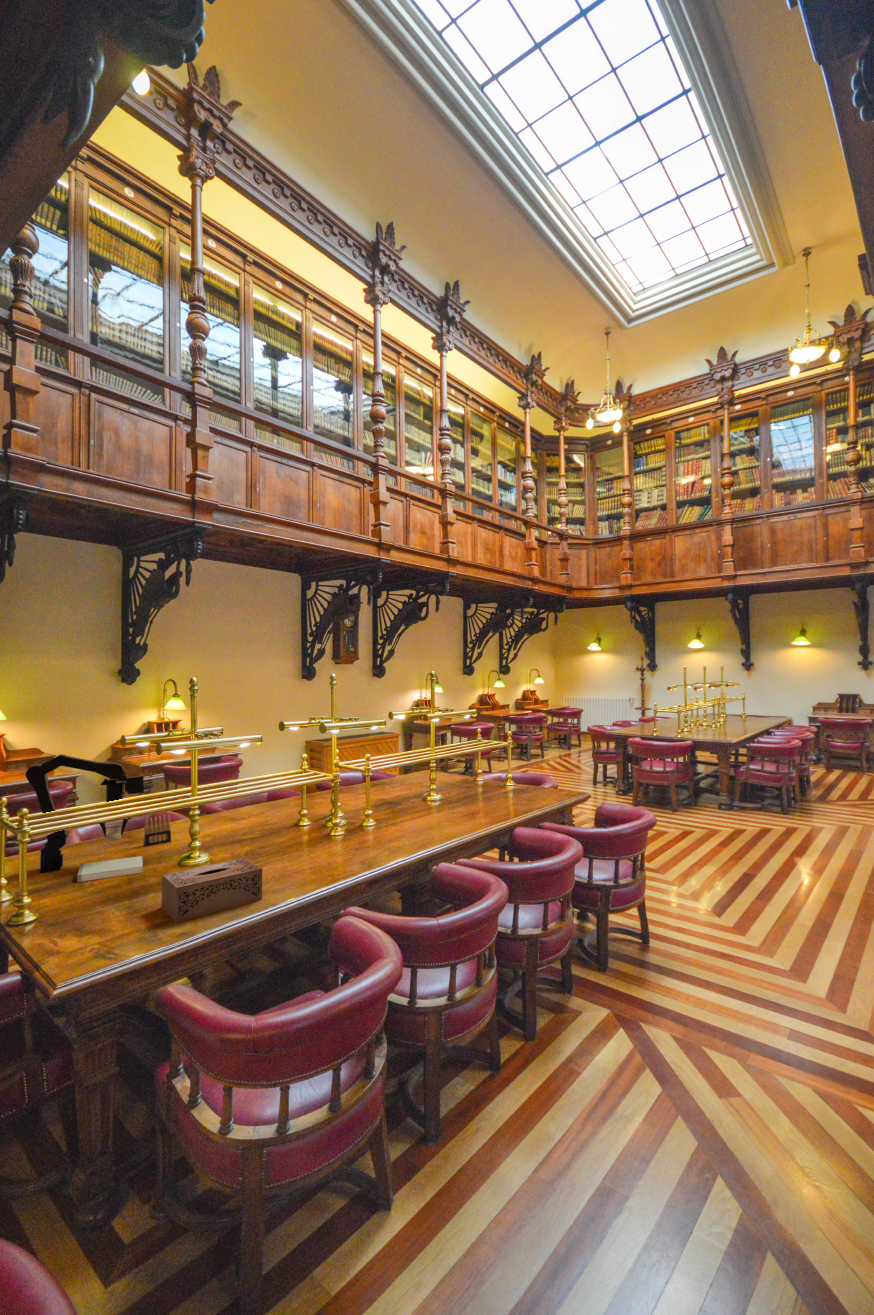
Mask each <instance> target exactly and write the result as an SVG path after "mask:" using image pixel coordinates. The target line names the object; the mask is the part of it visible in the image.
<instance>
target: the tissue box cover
mask: <svg viewBox="0 0 874 1315" xmlns="http://www.w3.org/2000/svg"><path fill="white" fill-rule="evenodd" d="M261 900H263V868H262V867H260V866H259V865H257V864H256V863H254V862H252V861H251V860H249V859H247V858H245V857H241V858H238V859H233V860H227V861H223V862H222V861H221V862H219V863H213V864H207V865H204V866H199V867H194V868H190V869H184V870H179V871H175V872H170V873H165V874H162V876H161V908H162V909H163V910H164V911H165V912H166V914H168V916H169V917H170V918H171V919H172V920H173V921H174V922H175V923H178V922H182V921H186V920H189V919H194V918H197V917H201V916H205V915H208V914H212V913H217V912H220V911H224V910H227V909H231V908H235V907H239V906H242V905H246V904H250V903H253V902H256V901H257V902H258V901H261Z"/></svg>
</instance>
